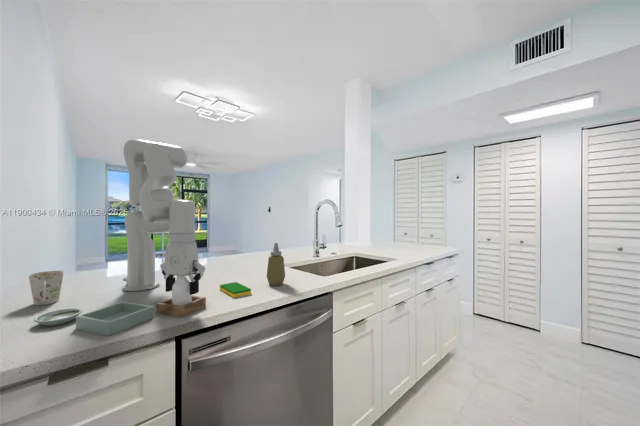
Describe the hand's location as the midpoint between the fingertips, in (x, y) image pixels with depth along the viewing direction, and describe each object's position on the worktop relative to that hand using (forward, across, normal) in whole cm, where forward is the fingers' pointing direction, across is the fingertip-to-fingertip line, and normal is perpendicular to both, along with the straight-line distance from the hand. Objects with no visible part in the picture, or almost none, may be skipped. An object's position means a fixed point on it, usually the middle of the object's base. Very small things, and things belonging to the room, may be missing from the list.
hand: (182, 292), depth 86 cm
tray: (+6, -9, -14) cm, 18 cm away
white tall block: (+6, 0, 0) cm, 6 cm away
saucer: (+6, -25, -19) cm, 32 cm away
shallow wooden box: (+6, 0, 0) cm, 6 cm away
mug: (+6, -47, -11) cm, 49 cm away
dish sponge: (+6, +4, +22) cm, 23 cm away
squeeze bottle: (+6, +14, +37) cm, 40 cm away
